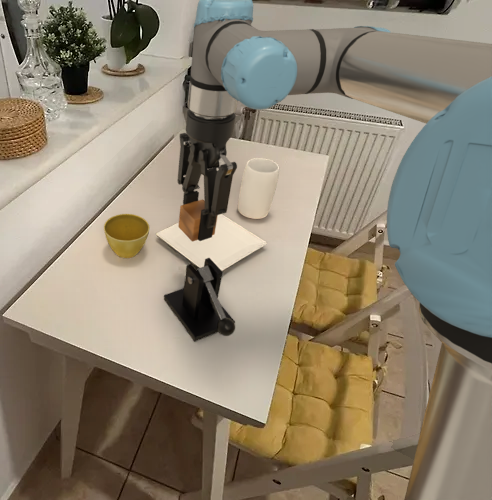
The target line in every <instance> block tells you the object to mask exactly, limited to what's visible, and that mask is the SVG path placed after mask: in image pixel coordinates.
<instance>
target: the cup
mask: <svg viewBox="0 0 492 500" xmlns="http://www.w3.org/2000/svg"><path fill="white" fill-rule="evenodd" d="M280 169H281V167H280V166H279V163H277V162H276V161H274V160H272V159H269V158H265V157H254V158H250V159H249V160H247V162H246V163H245V167H244V170H243V174H242V177H241V181H240V188H239V194H238V200H237V211H238V213H239V214H240V215H242V216H244V217H245V218H248V219H253V220H256V219H258V220H259V219H264V218H265V217H267V216H268V215H269V213H270V210H271V206H272V203H273V200H274V197H275V193H276V189H277V186H278V182H279V181H278V180H279V175H280Z"/></svg>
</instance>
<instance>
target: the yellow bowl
mask: <svg viewBox="0 0 492 500" xmlns="http://www.w3.org/2000/svg"><path fill="white" fill-rule="evenodd" d="M103 231H104V235H105V239H106V242H107V243H108V245H109V247H110V248H111V250H112V251H113V252H114V254H115V255H117V256H118V257H119V258H121V259H132V258H134V257H135V256H137V255H138V254H139V253H140V251H141V250H142V249H143V247H144V245H145V244H146V242H147V239H148V236H149V233H150V224H149V222H148V221H147V220H146V219H145V218H144V217H142V216H140V215H137V214H134V213H133V214H132V213H120V214H115V215H113V216H111V217H109V218H108V219H106V221H105V222H104V224H103Z"/></svg>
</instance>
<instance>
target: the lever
mask: <svg viewBox="0 0 492 500" xmlns="http://www.w3.org/2000/svg"><path fill="white" fill-rule="evenodd" d="M196 270H197V271H198V272H199V274H200V275H201V276H202V277H203V278H204V281H203V285H204V287H205V290H206V292H207V294H208V296H209V299H210V301H211V303H212V306H213V308H214V310H215V312H216V315H217V317H218V319H219V322H218V323H217V330H218V332H217V333H219V335H222V336H225V337H229V336H231V335H233V334H234V332H235V331H236V324H234V322H233V321H232V320H231V319H229V318H226V316H225V314H224V312H223V309H222V307H223V306H222V304H221V303H220V301H219V297H218V298H217V296H216V294H215V291H214V289H213V287H212V285H211V281H212V280H213V279H214V278H213V276H212V274H211V271H210V269H209V267H208V265H207V266H204V267H201V268H199V267H197V268H196ZM220 304H221V305H220ZM221 306H222V307H221Z"/></svg>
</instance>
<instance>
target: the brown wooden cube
mask: <svg viewBox="0 0 492 500" xmlns="http://www.w3.org/2000/svg"><path fill="white" fill-rule="evenodd" d="M203 209H205V203H204V198H202V199H198V201H195V202H192V203H188V204H185V205H183V204H180V207H179V218H178V222H179V228H180V229H181V230H182V231H183V232H184V234H185V235H186V236H187V237H188V238H189V239H190V240H191V241H192V242H193V241H196V240H198V233H199V225H200V216H201V210H203ZM217 216H218V215H217ZM216 222H217V218H216ZM215 228H216V224H215V226H214V228H213V234H212V235H214V234H215Z"/></svg>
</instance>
